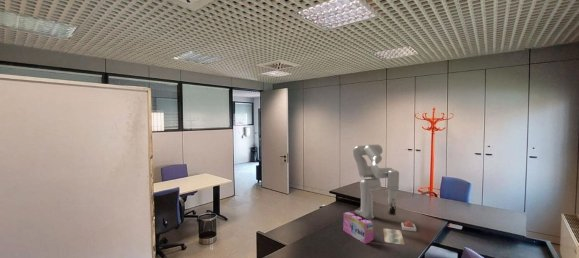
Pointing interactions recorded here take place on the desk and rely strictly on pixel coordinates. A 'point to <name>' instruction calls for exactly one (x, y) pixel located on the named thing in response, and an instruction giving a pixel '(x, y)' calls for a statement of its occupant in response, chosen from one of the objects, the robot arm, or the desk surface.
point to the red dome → (408, 224)
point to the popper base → (408, 227)
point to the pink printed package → (358, 226)
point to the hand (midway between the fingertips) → (392, 212)
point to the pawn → (389, 209)
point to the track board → (393, 236)
